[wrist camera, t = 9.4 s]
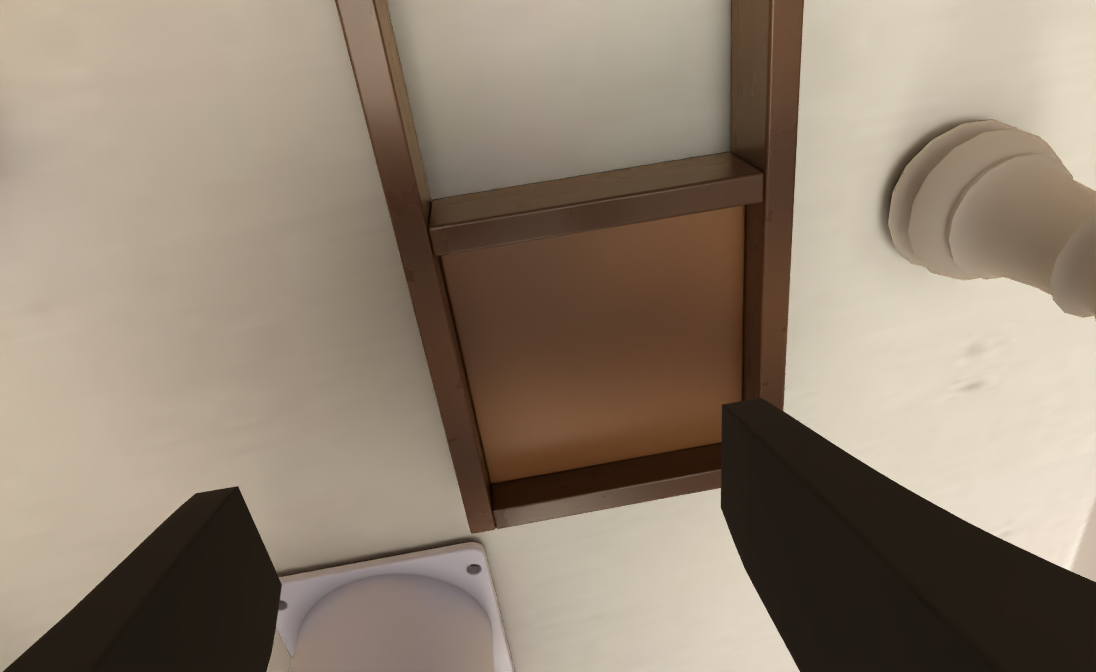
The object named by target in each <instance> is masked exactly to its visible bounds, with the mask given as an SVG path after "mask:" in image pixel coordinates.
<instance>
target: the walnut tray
mask: <svg viewBox="0 0 1096 672" xmlns="http://www.w3.org/2000/svg"><path fill="white" fill-rule="evenodd" d="M335 2H336V6H337V10H338V14H339V18H340V22H341V26H342V30H343V34H344V37H345V41H346V45H347V49H348V53H349V57H350V61H351V65H352V69H353V73H354V77H355V81H356V84H357V88H358V92H359V96H360V100H361V104H362V108H363V112H364V116H365V120H366V124H367V128H368V132H369V135H370V139H371V143H372V147H373V151H374V155H375V159H376V163H377V167H378V171H379V175H380V179H381V183H382V186H383V190H384V194H385V198H386V202H387V206H388V210H389V214H390V218H391V222H392V226H393V230H394V234H395V237H396V241H397V245H398V249H399V253H400V257H401V261H402V265H403V269H404V273H405V277H406V281H407V285H408V288H409V292H410V296H411V300H412V304H413V308H414V312H415V316H416V320H417V324H418V328H419V332H420V336H421V339H422V343H423V347H424V351H425V355H426V359H427V363H428V367H429V371H430V375H431V379H432V383H433V387H434V390H435V394H436V398H437V402H438V406H439V410H440V414H441V418H442V422H443V426H444V430H445V434H446V438H447V441H448V445H449V449H450V453H451V457H452V461H453V465H454V469H455V473H456V477H457V481H458V485H459V488H460V492H461V496H462V500H463V504H464V508H465V512H466V516H467V520H468V524H469V528H470V532H471V533H472V534H473V533H479V532H484V531H490V530H494V529H495V528H497V529H500V528H505V527H511V526H516V525H521V524H527V523H532V522H538V521H543V520H549V519H554V518H559V517H565V516H570V515H576V514H581V513H587V512H592V511H598V510H603V509H608V508H614V507H619V506H625V505H630V504H636V503H641V502H646V501H652V500H657V499H663V498H668V497H674V496H679V495H684V494H690V493H695V492H701V491H706V490H712V489H717V488H721V441H722V404H728V403H733V402H739V401H745V400H751V399H757V398H763V399H764V400H766V401H768V402H769V403H771V404H772V405H774V406H776V407H777V408H779V409H780V410H782V411H783V405H784V385H785V365H786V345H787V325H788V305H789V285H790V265H791V246H792V226H793V206H794V186H795V166H796V146H797V126H798V106H799V86H800V66H801V46H802V26H803V7H804V0H732V152H731V153H730V152H726V153H720V154H713V155H707V156H701V157H695V158H689V159H683V160H676V161H670V162H664V163H658V164H652V165H646V166H639V167H633V168H627V169H621V170H615V171H609V172H602V173H596V174H590V175H584V176H578V177H572V178H565V179H559V180H553V181H547V182H541V183H535V184H528V185H522V186H516V187H510V188H504V189H498V190H491V191H485V192H479V193H473V194H467V195H461V196H454V197H448V198H442V199H436V200H433V201H432V203H431V199H430V195H429V190H428V186H427V181H426V177H425V172H424V168H423V163H422V158H421V154H420V149H419V145H418V140H417V136H416V131H415V127H414V122H413V118H412V113H411V109H410V104H409V100H408V95H407V91H406V86H405V82H404V77H403V73H402V68H401V64H400V59H399V55H398V50H397V46H396V41H395V37H394V32H393V28H392V23H391V19H390V14H389V9H388V5H387V0H335Z"/></svg>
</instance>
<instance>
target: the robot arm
mask: <svg viewBox="0 0 1096 672" xmlns="http://www.w3.org/2000/svg"><path fill="white" fill-rule="evenodd" d="M721 509H722V511H723V514H724V517H725V519H726V522H727V525H728V527H729V530H730V533H731V535H732V538H733V540H734V543H735V545H736V548H737V550H738V553H739V555H740V558H741V560H742V563H743V565H744V568H745V570H746V572H747V573H748V575H749V577H750V579H751V581H752V583H753V585H754V587H755V589H756V591H757V592H758V594H759V596H760V598H761V600H762V602H763V604H764V606H765V607H766V609H767V611H768V613H769V615H770V617H771V619H772V621H773V622H774V624H775V626H776V628H777V630H778V632H779V633H780V635H781V637H782V639H783V641H784V643H785V645H786V646H787V648H788V650H789V652H790V654H791V656H792V657H793V659H794V661H795V663H796V665H797V667H798V669H799V670H800V672H1096V582H1094V581H1091V580H1089V579H1087V578H1085V577H1082V576H1080V575H1078V574H1075V573H1073V572H1071V571H1069V570H1066V569H1064V568H1062V567H1059V566H1057V565H1055V564H1053V563H1051V562H1049V561H1047V560H1044V559H1042V558H1040V557H1038V556H1036V555H1034V554H1032V553H1030V552H1028V551H1025V550H1023V549H1021V548H1019V547H1017V546H1015V545H1013V544H1011V543H1008V542H1006V541H1004V540H1002V539H1000V538H998V537H996V536H994V535H992V534H990V533H988V532H986V531H984V530H982V529H980V528H978V527H976V526H974V525H972V524H970V523H968V522H966V521H964V520H962V519H961V518H959V517H957V516H955V515H953V514H951V513H950V512H948V511H946V510H944V509H942V508H940V507H939V506H937V505H935V504H933V503H931V502H930V501H928V500H926V499H924V498H922V497H920V496H919V495H917V494H915V493H913V492H912V491H910V490H908V489H906V488H905V487H903V486H901V485H899V484H898V483H896V482H894V481H893V480H891V479H889V478H888V477H886V476H884V475H883V474H881V473H879V472H878V471H876V470H874V469H873V468H871V467H869V466H868V465H866V464H865V463H863V462H861V461H860V460H858V459H856V458H855V457H853V456H852V455H850V454H848V453H847V452H845V451H844V450H842V449H841V448H839V447H837V446H836V445H834V444H833V443H831V442H830V441H828V440H827V439H825V438H823V437H822V436H820V435H819V434H817V433H816V432H814V431H813V430H811V429H810V428H808V427H806V426H805V425H803V424H802V423H800V422H799V421H797V420H796V419H794V418H793V417H791V416H790V415H788V414H787V413H785V412H783V411H782V410H780V409H779V408H777V407H776V406H774V405H772V404H771V403H769V402H768V401H766V400H764V399H763V398H757V399H751V400H745V401H739V402H733V403H728V404H722V441H721ZM471 564H477V565H476V566H470V565H471ZM280 600H282V602H281V601H280ZM276 628H277V630H278V632H279V634H280V636H281V638H282V640H283V642H284V644H285V646H286V648H287V650H288V652H289V654H290V656H291V658H292V663H291V667H290V671H289V672H515V670H514V666H513V662H512V658H511V654H510V650H509V646H508V642H507V638H506V634H505V630H504V625H503V621H502V617H501V613H500V609H499V605H498V601H497V597H496V593H495V589H494V585H493V581H492V576H491V572H490V568H489V564H488V560H487V556H486V552H485V549H484V547H483V546H482V545H481V544H479V543H476V542H467V543H462V544H456V545H451V546H445V547H440V548H435V549H429V550H424V551H418V552H413V553H408V554H402V555H397V556H391V557H386V558H380V559H375V560H370V561H364V562H359V563H353V564H348V565H343V566H337V567H332V568H326V569H321V570H316V571H310V572H305V573H299V574H294V575H288V576H283V577H278V575H277V573H276V570H275V568H274V566H273V564H272V561H271V559H270V557H269V555H268V552H267V550H266V548H265V546H264V543H263V541H262V539H261V537H260V534H259V532H258V530H257V528H256V525H255V523H254V521H253V519H252V516H251V514H250V512H249V510H248V508H247V505H246V503H245V501H244V499H243V496H242V494H241V492H240V490H239V487H238V486H237V487H231V488H225V489H219V490H213V491H207V492H201V493H196V494H195V495H193V496H192V497H191V498H190V499H189V500H187V501H186V502H185V503H184V504H183V505H182V506H181V507H179V508H178V509H177V510H176V511H175V512H174V513H173V514H172V515H171V516H170V517H168V518H167V519H166V520H165V521H164V522H163V523H162V524H161V525H160V526H159V527H158V528H157V529H156V530H155V531H154V532H153V533H152V534H151V535H149V536H148V537H147V538H146V539H145V540H144V541H143V542H142V543H141V544H140V545H139V546H138V547H137V548H136V549H135V550H134V551H133V552H132V553H131V554H130V555H129V556H128V557H127V558H126V559H125V560H124V561H122V562H121V563H120V564H119V565H118V566H117V567H116V568H115V569H114V570H113V571H112V572H111V573H110V574H109V575H108V576H107V577H106V578H105V579H104V580H103V581H101V582H100V583H99V584H98V585H97V586H96V587H95V588H94V589H93V590H92V591H91V592H90V593H89V594H88V595H87V596H86V597H85V598H84V599H83V600H82V601H80V602H79V603H78V604H77V605H76V606H75V607H74V608H73V609H72V610H71V611H70V612H69V613H68V614H67V615H66V616H65V617H63V618H62V619H61V620H60V621H59V622H58V623H57V624H56V625H54V626H53V627H52V628H51V629H50V630H49V631H48V632H47V633H46V634H44V635H43V636H42V637H41V638H40V639H39V640H38V641H37V642H35V643H34V644H33V645H32V646H31V647H30V648H29V649H28V650H27V651H25V652H24V653H23V654H22V655H21V656H20V657H19V658H18V659H16V660H15V661H14V662H13V663H12V664H11V665H10V666H9V667H8V668H6V669H5V670H4V671H3V672H266V671H267V667H268V663H269V660H270V656H271V652H272V646H273V640H274V635H275V629H276Z"/></svg>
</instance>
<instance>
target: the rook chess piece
mask: <svg viewBox="0 0 1096 672" xmlns="http://www.w3.org/2000/svg"><path fill="white" fill-rule="evenodd" d="M888 225H889V229H890V232H891V236H892V239H893V243H894V246H895V248H896V249H897V250H898V251H899V252H900V253H901V254H902V255H903V256H904V257H905V258H906V259H907V260H908V261H909V262H910V263H912V264H916V265H919V266H923V267H926V268H927V269H928V270H929V271H930V272H932V273H936V274H939V275H943V276H947V277H950V278H954V279H960V280H969V279H976V278H983V279H993V278H999V277H1005V278H1009V279H1012V280H1015V281H1018V282H1021V283H1024V284H1027V285H1030V286H1033V287H1036V288H1039V289H1041V290H1042V291H1044V292H1046V293H1048V294H1050V295H1052V296H1053V300H1054V302H1055V303H1056V304H1057V305H1058V306H1059V307H1060V308H1061V309H1062V310H1063V311H1064V313H1068V314H1072V315H1075V316H1079V317H1089V316H1095V319H1096V191H1094V190H1092V189H1090V188H1088V187H1086V186H1084V185H1082V184H1080V183H1078V182H1076V181H1075V180H1073V176H1072V175H1071V174H1070V173H1069V171H1068V170H1067V169H1066V167H1065V166H1064V165H1063V164H1062V161H1061V160H1060V158H1059V157H1058V156H1057V155H1056V153H1055V152H1054V151H1053V150H1052V148H1051V147H1050V146H1049V144H1048V143H1047V142H1045V141H1044V140H1043V139H1042V138H1040V137H1039V136H1036V135H1033V134H1030V133H1027V132H1024V131H1022V130H1019V129H1017V128H1015V127H1012V126H1009V125H1006V124H1003V123H1001V122H998V121H995V120H985V121H978V122H971V123H963V124H961V125H959V126H957V127H955V128H953V129H951V130H949V131H948V132H946V133H944V134H942V135H940V136H938V137H936V138H935V139H933V140H931V141H930V142H929V143H928V144H927V145H926V146H925V147H924V148H923V149H922V150H921V151H920V152H919V153H918V154H917V155H916V156H915V157H914V158H913V159H912V160H911V161H910V162H909V163H908V164H907V165H906V166H905V168H904V170H903V172H902V174H901V176H900V178H899V180H898V181H897V183H896V185H895V187H894V189H893V192H892V199H891V205H890V212H889V219H888Z"/></svg>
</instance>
